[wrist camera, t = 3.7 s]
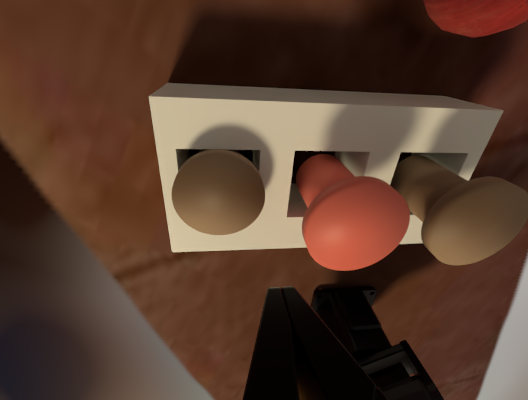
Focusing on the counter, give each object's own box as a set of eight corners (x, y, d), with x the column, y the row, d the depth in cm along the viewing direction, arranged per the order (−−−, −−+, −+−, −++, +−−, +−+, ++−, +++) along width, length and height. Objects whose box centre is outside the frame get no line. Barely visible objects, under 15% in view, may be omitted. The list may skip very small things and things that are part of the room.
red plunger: (347, 208, 18) (391, 268, 13) (279, 209, 17) (299, 273, 12) (364, 141, 15) (425, 184, 11) (287, 139, 15) (315, 184, 10)
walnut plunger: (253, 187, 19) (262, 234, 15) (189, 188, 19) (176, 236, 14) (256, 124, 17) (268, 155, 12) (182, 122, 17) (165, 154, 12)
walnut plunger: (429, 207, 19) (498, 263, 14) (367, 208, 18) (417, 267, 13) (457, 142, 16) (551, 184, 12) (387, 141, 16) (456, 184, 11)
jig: (401, 208, 23) (437, 242, 19) (182, 212, 20) (172, 252, 16) (444, 95, 18) (503, 110, 14) (167, 82, 16) (148, 96, 12)
